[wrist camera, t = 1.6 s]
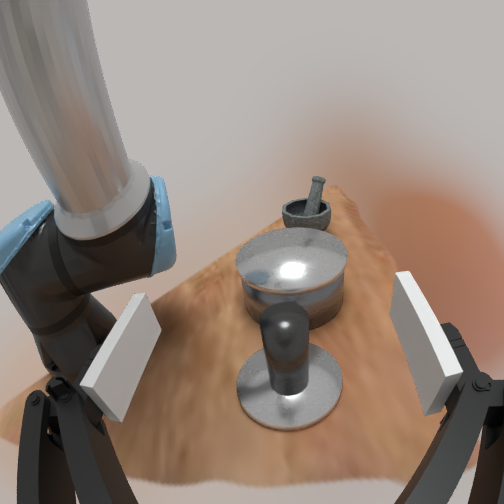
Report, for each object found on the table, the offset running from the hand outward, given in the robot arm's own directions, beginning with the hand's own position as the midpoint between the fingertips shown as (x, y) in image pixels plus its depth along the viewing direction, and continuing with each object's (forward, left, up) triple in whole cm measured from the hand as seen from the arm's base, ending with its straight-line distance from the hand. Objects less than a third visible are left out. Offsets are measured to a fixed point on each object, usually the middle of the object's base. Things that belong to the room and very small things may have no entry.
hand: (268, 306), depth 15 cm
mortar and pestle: (-30, +31, -20) cm, 48 cm away
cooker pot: (-18, +16, -20) cm, 31 cm away
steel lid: (-6, +5, -20) cm, 22 cm away
